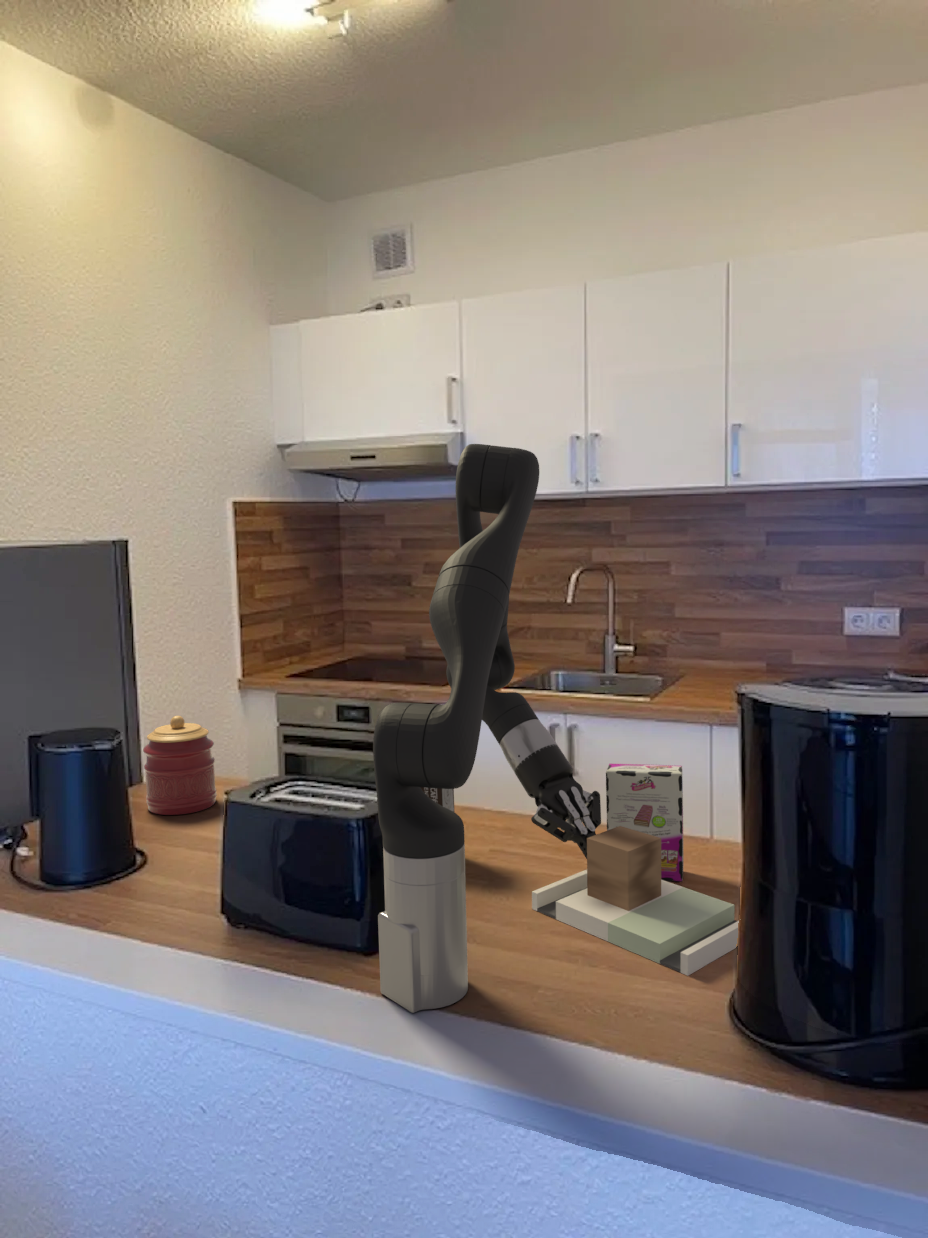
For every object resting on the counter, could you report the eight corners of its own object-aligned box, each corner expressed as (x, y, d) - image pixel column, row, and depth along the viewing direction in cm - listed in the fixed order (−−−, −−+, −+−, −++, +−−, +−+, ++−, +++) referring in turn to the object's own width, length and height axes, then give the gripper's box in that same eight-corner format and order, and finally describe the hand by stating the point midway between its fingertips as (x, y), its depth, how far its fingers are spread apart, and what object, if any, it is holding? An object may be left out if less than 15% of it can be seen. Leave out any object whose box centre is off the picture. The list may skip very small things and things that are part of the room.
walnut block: (628, 911, 118) (628, 851, 117) (587, 895, 123) (586, 838, 123) (661, 895, 123) (661, 838, 122) (620, 881, 128) (620, 825, 127)
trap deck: (687, 975, 106) (687, 955, 106) (532, 909, 125) (531, 891, 125) (761, 932, 117) (762, 914, 116) (607, 877, 136) (607, 861, 135)
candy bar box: (683, 870, 138) (683, 764, 136) (683, 883, 133) (683, 773, 131) (609, 865, 141) (608, 761, 139) (606, 877, 136) (605, 770, 134)
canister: (200, 791, 185) (195, 706, 183) (228, 805, 175) (223, 715, 173) (136, 805, 176) (130, 716, 175) (162, 821, 167) (156, 726, 165)
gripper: (515, 751, 127) (583, 859, 119) (579, 735, 136) (645, 835, 128) (490, 781, 131) (553, 887, 124) (553, 763, 140) (616, 861, 132)
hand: (600, 860), depth 126 cm, fingers closed
